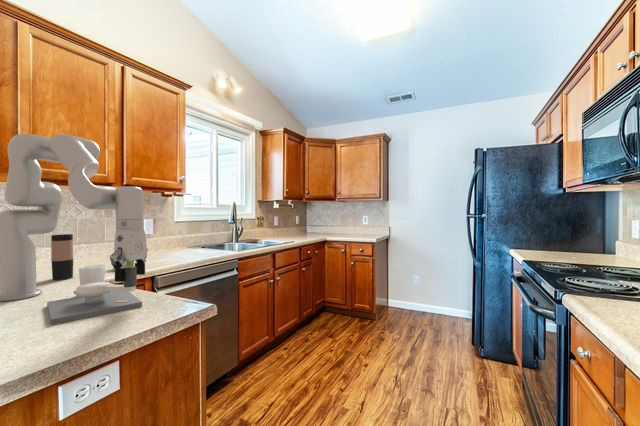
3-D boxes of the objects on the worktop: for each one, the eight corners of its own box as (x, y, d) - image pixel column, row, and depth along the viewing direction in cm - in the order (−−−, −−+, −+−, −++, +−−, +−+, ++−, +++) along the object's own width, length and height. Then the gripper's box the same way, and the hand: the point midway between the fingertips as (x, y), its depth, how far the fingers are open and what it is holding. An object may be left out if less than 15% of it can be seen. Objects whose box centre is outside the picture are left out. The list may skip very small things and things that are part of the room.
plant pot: (127, 269, 158) (127, 253, 158) (111, 269, 160) (111, 252, 160) (140, 266, 167) (140, 250, 167) (125, 265, 169) (125, 250, 169)
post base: (47, 306, 98) (47, 294, 98) (126, 293, 114) (125, 282, 113) (51, 324, 82) (50, 310, 82) (141, 306, 98) (141, 294, 98)
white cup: (74, 296, 109) (74, 269, 109) (85, 291, 116) (85, 265, 116) (100, 295, 111) (99, 268, 111) (108, 289, 119) (108, 264, 118)
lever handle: (64, 297, 94) (63, 269, 94) (91, 288, 104) (90, 263, 104) (126, 297, 93) (125, 270, 93) (147, 288, 103) (146, 263, 103)
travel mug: (48, 279, 137) (47, 235, 136) (68, 276, 143) (68, 234, 143) (56, 281, 133) (55, 235, 133) (76, 277, 140) (76, 234, 140)
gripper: (123, 226, 89) (124, 284, 89) (156, 223, 106) (157, 272, 106) (98, 226, 89) (99, 284, 89) (135, 223, 106) (135, 272, 106)
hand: (130, 277), depth 98 cm, fingers open, 9 cm apart
